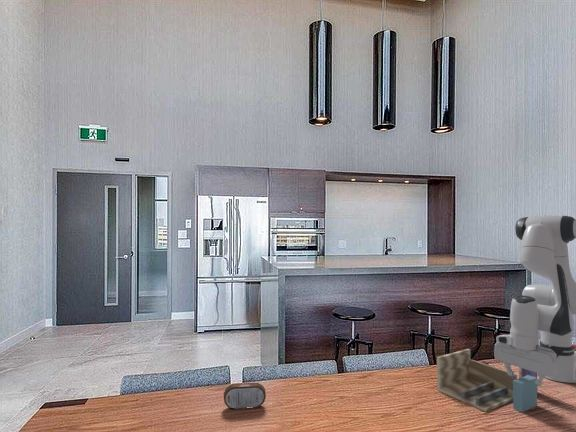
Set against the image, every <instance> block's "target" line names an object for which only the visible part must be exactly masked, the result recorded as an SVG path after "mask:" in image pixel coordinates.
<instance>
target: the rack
mask: <svg viewBox="0 0 576 432" xmlns="http://www.w3.org/2000/svg"><path fill="white" fill-rule="evenodd" d="M516 379H518V375H517V374H516V373H514V376H512V377H511V376H508V371H507V370H504V369H500V368H498V367H495V366H492V365H489V364H486V363H483V362H480V361H478V360H474V359H471V349H470V348H465V349H462V350H459V351H458V350H457V351H455V352H449V353H447V354H443V355H439V356H436V390H437V391H439V392H441V393H443V394H445V395H447V396H449V397H452V398H453V399H456V400H459V401H461V402H462V403H465V404H467V405H469V406H471V407H472V408H473V407H474V408H476V409H477V410H480V411H483V412H485V413H487V412H489V411H491V410H494V409H496V408H499V407H501V406H502V405H503V406H504V405H506V404H508V403H511V402H513V380H516Z"/></svg>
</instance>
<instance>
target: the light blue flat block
mask: <svg viewBox="0 0 576 432" xmlns="http://www.w3.org/2000/svg"><path fill="white" fill-rule="evenodd" d="M537 379H538V377H537V378H536V377H533V376H530V375H527V376H524V377H521V378H517V379H516V380H513V401H512V403H513V406H512V408H513V410H515V411H519V412H520V413H524V412H526V411H529V410H531V409H532V408H535V407H537V406H538V386H537V385H535V380H537Z"/></svg>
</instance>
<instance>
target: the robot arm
mask: <svg viewBox="0 0 576 432" xmlns="http://www.w3.org/2000/svg"><path fill="white" fill-rule="evenodd" d="M514 226H515V227H514V231H515V235H516V237H517V238H518V239H519V240H521V244H520V252H519V261H520V263H521V265H522V266H523V267H524V268H525V269H526V270H528V271H530V272H531V273H533V274H535V275H538V276H540V277H543V278H545V279H546V280H549V281H550V283H551V284H552V285H551V284H550V285H548V284H542V283H541V284H540V283H536V284H528V285H527V284H526V286H525V287H524V288H523V289H522V293H521V295H516V296H514V297H512V298H511V303H510V313H509V321H510V324H511V327H510V329H509V333H507V334H506V333H505V334H500V335H497V336H496V337H495V340H496V342H495V345H494V350H493V356H494V358H495V360H496V361H498V362H502V363H504V364H503V365H504V367H505V369H506V371H507V372H508V376H511V377H512V376H514V374H515V371H514V370H512V367H511V366H514V367H517V368H519V367H520V368H523V369H526V370H529V371H533V372H536V373H537V377H538V378H537V380H535V385H537V387H542V385H543V381H544V380H545V379H548V380H550V381H556V382H559V383H560V382H561V383H571V384H572V383H573V384H576V354H575V350H576V344H575V343H574V344H573V329H574V327H575V325H574V324H575V322H574V317H573V315H576V280H575V279H574V278H573V276H572V272H571V267H570V266H571V265H570V257H569V255H570V254H569V247H568V244H569V242H572V241H573V240H575V239H576V219H575V217H573V216H569V215H561V216H560V215H544V216H543V215H540V216H530V217H529V216H526V217H521V218H519V219H518V220H516V223H515V225H514ZM539 331H540V334H539Z"/></svg>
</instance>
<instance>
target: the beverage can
mask: <svg viewBox="0 0 576 432" xmlns="http://www.w3.org/2000/svg"><path fill="white" fill-rule="evenodd" d="M527 375H530V376H533V377H536V378H537V379H538V373H536V372H533V371H529V370H526V369H523V368H520V367H518V376H519V378H521V377H524V376H527ZM519 378H518V379H519Z"/></svg>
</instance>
